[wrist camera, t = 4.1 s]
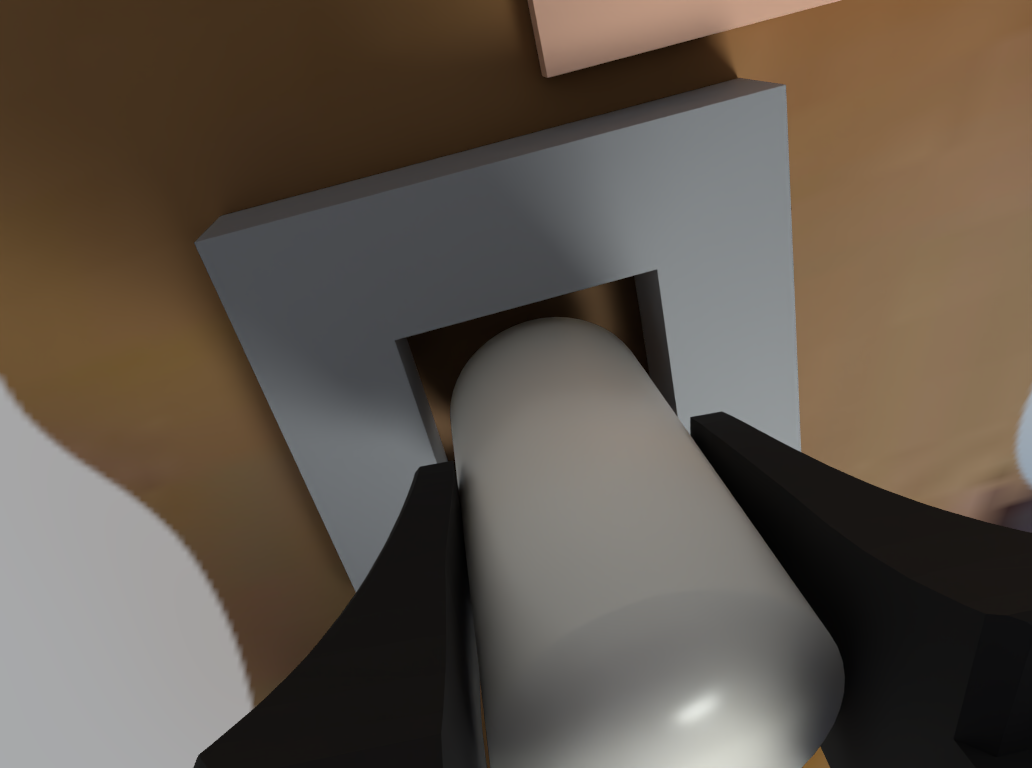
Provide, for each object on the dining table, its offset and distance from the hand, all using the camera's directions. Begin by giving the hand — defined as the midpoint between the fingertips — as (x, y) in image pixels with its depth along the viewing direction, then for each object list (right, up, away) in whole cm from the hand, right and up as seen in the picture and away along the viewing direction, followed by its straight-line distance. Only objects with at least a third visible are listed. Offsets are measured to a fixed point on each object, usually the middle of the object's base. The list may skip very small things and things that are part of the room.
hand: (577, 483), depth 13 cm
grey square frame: (-1, +2, +4) cm, 4 cm away
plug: (0, +1, +2) cm, 3 cm away
